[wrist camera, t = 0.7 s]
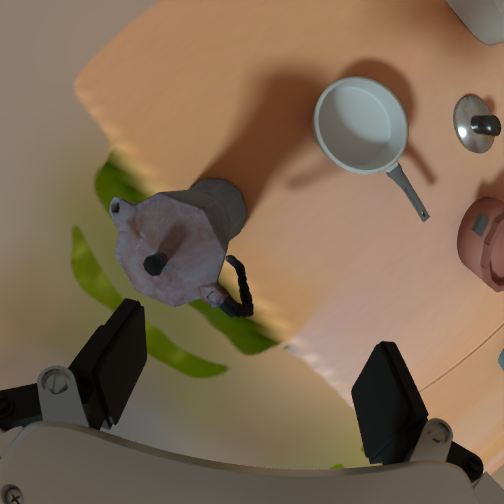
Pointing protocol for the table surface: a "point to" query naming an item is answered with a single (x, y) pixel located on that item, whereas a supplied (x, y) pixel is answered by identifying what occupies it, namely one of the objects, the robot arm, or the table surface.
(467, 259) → the pot
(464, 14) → the toilet tissue
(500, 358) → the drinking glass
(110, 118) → the table surface
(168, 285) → the moka pot
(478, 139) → the lid
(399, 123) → the saucepan
